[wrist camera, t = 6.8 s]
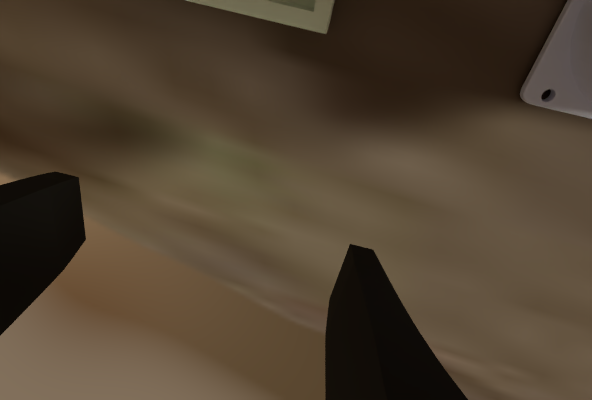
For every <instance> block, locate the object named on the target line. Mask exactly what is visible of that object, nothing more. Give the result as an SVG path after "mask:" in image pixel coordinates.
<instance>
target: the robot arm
mask: <svg viewBox="0 0 592 400" xmlns="http://www.w3.org/2000/svg"><path fill="white" fill-rule="evenodd" d="M548 89H550V90H551V93H550V95H549V96H548V98H546V99H541V96H542V94H543V93H544V91H546V90H548ZM520 97H521V98H522V100H523V101H525V102H526V103H528V104H531V105H535V106H539V107H544V108H548V109H552V110H556V111H560V112H564V113H568V114H573V115H577V116H581V117H585V118H589V119H592V0H567V2H566V4H565V6H564V8H563V10H562V12H561V14H560V16H559V18H558V19H557V21H556V23H555V25H554V27H553V29H552V31H551V33H550V35H549V37H548V38H547V40H546V42H545V44H544V46H543V48H542V50H541V52H540V54H539V56H538V57H537V59H536V61H535V63H534V65H533V67H532V69H531V71H530V73H529V75H528V76H527V78H526V80H525V82H524V84H523V86H522V88H521V91H520ZM85 240H86V237H85V228H84V219H83V211H82V202H81V193H80V185H79V177H75V176H71V175H67V174H63V173H59V172H51V173H46V174H41V175H37V176H33V177H29V178H25V179H21V180H18V181H14V182H10V183H7V184H3V185H0V335H1V334H2V333H3V332H4V331H5V330H6V329H7V328H8V327H9V326H10V325H11V324H12V323H13V322H14V321H15V320H16V319H17V318H18V317H19V316H20V315H21V314H22V313H23V312H24V311H25V310H26V309H27V308H28V306H30V305H31V303H32V302H33V301H34V300H35V299H36V298H37V297H38V296H39V295H40V294H41V293H42V292H43V291H44V290H45V289H46V288H47V287H48V286H49V285H50V284H51V283H52V282H53V281H54V280H55V279H56V277H57V276H58V275H59V274H60V273H61V272H62V271H63V270H64V269H65V267H66V266H67V265H68V263H69V262H70V261H71V259H72V258H73V257H74V255H75V253H76V252H77V251H78V250H79V248H80V246H81V245H82V244H83V243H84V241H85ZM325 342H326V343H325V344H326V345H325V348H326V349H325V351H326V354H325V355H326V356H325V357H326V358H325V360H326V362H325V365H326V366H325V367H326V369H325V370H326V371H325V372H326V373H325V374H326V375H325V376H326V378H325V379H326V400H468V399H467V398H466V397H465V395H464V394H463V393H462V391H461V390H460V389H459V387H458V386H457V385H456V383H455V382H454V381H453V380H452V378H451V377H450V376H449V374H448V373H447V372H446V370H445V369H444V368H443V366H442V365H441V363H440V362H439V361H438V359H437V358H436V356H435V355H434V353H433V352H432V350H431V349H430V347H429V346H428V344H427V343H426V341H425V340H424V338H423V337H422V335H421V334H420V332H419V331H418V329H417V327H416V326H415V324H414V323H413V321H412V319H411V318H410V316H409V314H408V312H407V311H406V309H405V307H404V306H403V304H402V302H401V301H400V299H399V297H398V295H397V293H396V292H395V290H394V288H393V286H392V284H391V282H390V281H389V279H388V277H387V275H386V273H385V271H384V269H383V267H382V265H381V264H380V262H379V260H378V258H377V256H376V254H375V252H374V251H373V250H372V249H368V248H364V247H360V246H356V245H352V244H350V246H349V248H348V251H347V254H346V256H345V259H344V262H343V264H342V267H341V270H340V273H339V275H338V278H337V281H336V283H335V286H334V289H333V291H332V294H331V297H330V300H329V308H328V316H327V326H326V341H325Z"/></svg>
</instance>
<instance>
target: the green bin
mask: <svg viewBox="0 0 592 400" xmlns="http://www.w3.org/2000/svg"><path fill="white" fill-rule="evenodd" d="M186 1H190V2H194V3H198V4H202V5H206V6H211V7H215V8H219V9H223V10H227V11H231V12H236V13H240V14H244V15H248V16H252V17H256V18H260V19H265V20H269V21H273V22H277V23H281V24H285V25H290V26H294V27H298V28H302V29H306V30H310V31H315V32H319V33H323V34H326V33H327V31H328V28H329V24H330V20H331V16H332V11H333V7H334V3H335V0H186Z"/></svg>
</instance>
